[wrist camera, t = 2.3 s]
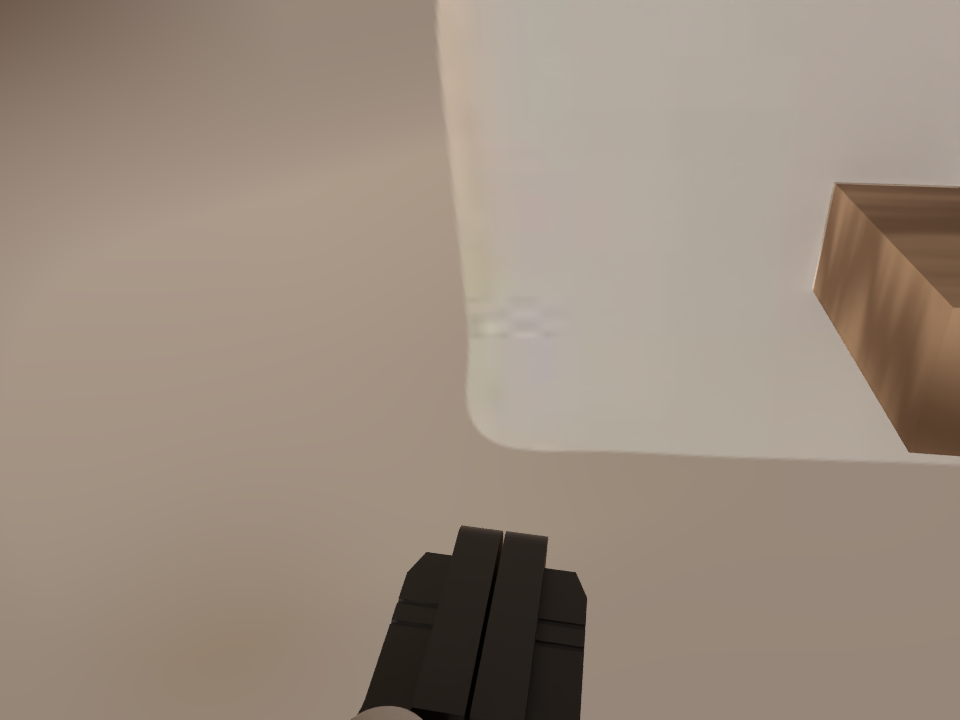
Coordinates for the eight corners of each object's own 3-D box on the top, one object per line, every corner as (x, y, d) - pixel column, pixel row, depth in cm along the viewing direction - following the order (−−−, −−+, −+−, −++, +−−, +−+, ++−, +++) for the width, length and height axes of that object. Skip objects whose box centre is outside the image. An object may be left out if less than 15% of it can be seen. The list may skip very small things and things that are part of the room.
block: (834, 182, 31) (953, 307, 20) (957, 186, 30) (1145, 317, 19) (812, 288, 33) (909, 452, 22) (926, 294, 32) (1081, 464, 22)
